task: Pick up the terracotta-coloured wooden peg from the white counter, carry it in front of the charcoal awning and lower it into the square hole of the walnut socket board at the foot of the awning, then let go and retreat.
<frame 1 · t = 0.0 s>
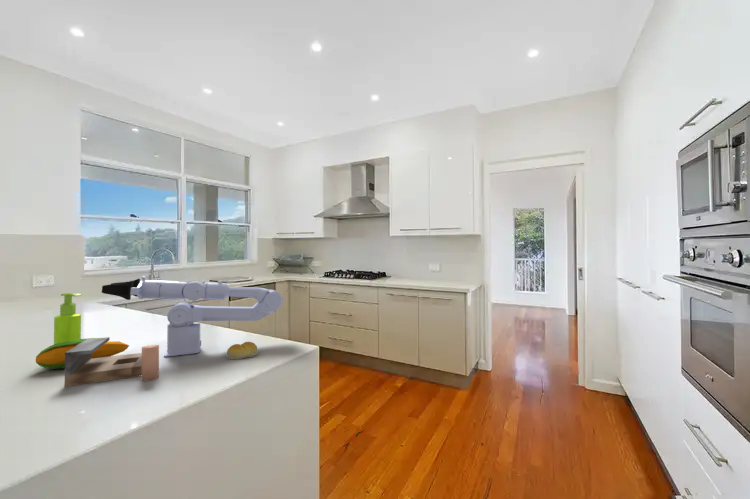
hand: (106, 287, 95), 22 cm above the counter, tool horizontal, fingers open, 7 cm apart
soap dispenser: (68, 359, 97), on the counter
bread roll: (243, 356, 100), on the counter
peg: (150, 378, 81), on the counter
corn: (85, 364, 93), on the counter
socket station: (115, 371, 86), on the counter
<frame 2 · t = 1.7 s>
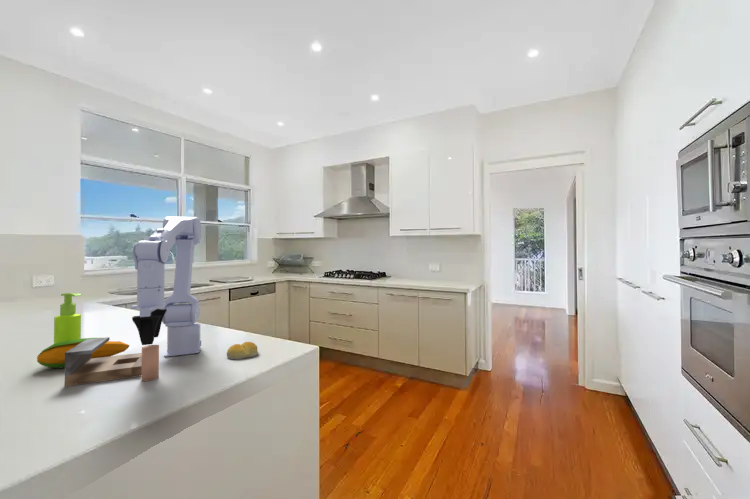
hand: (150, 340, 81), 9 cm above the counter, tool pointing down, fingers open, 7 cm apart
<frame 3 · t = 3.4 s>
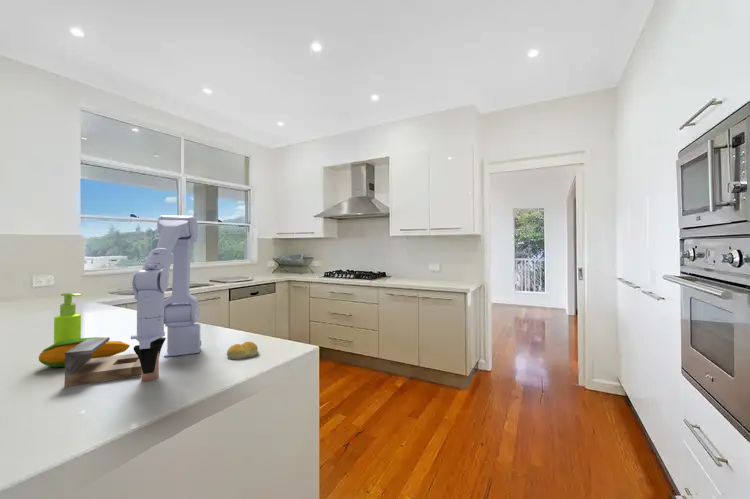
hand: (150, 370, 81), 2 cm above the counter, tool pointing down, fingers closed on peg, 4 cm apart
peg: (150, 378, 81), on the counter, touching gripper
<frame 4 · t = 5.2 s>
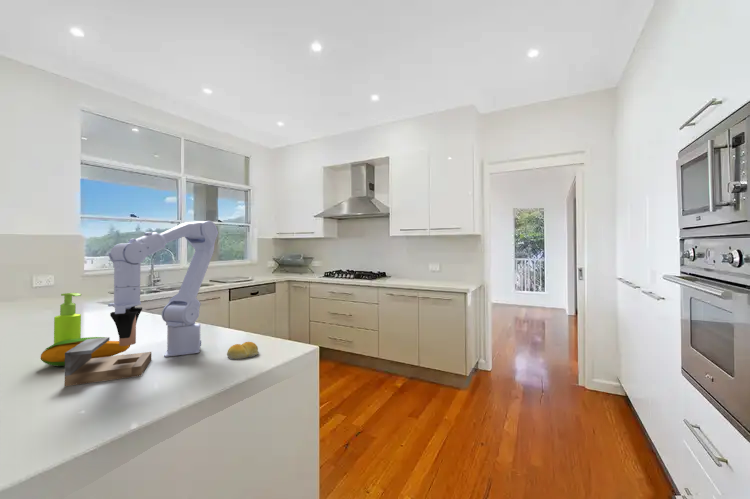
hand: (126, 336, 87), 9 cm above the counter, tool pointing down, fingers closed on peg, 4 cm apart
peg: (127, 344, 87), point 7 cm above the counter, touching gripper
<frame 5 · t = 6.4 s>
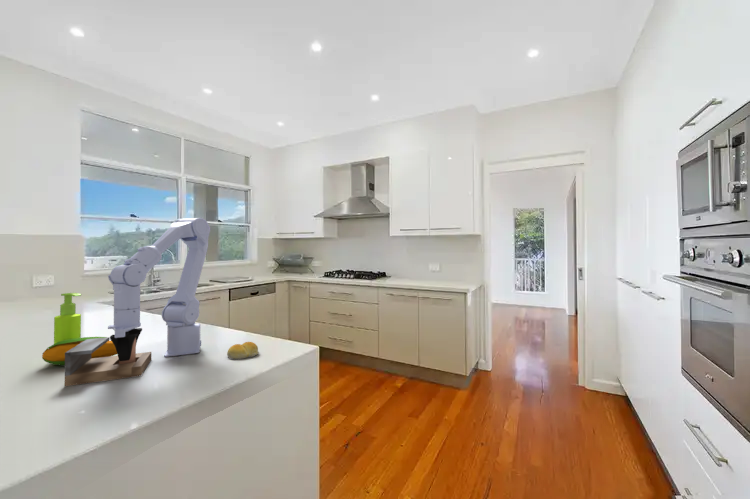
hand: (126, 358, 87), 3 cm above the counter, tool pointing down, fingers closed on peg, 4 cm apart
peg: (127, 366, 87), point 1 cm above the counter, touching gripper
when the fingers open (3 cm above the counter, at t = 7.0 s): peg drops 1 cm, resting in socket station.
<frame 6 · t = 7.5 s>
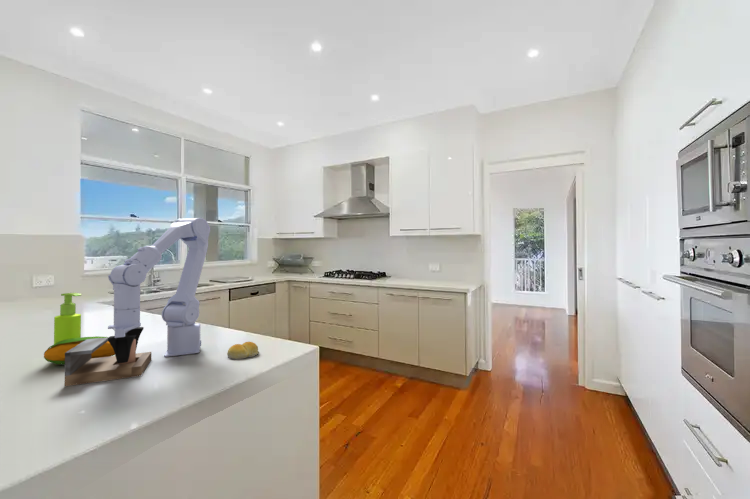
hand: (126, 358, 87), 3 cm above the counter, tool pointing down, fingers open, 7 cm apart
peg: (127, 370, 87), resting in socket station
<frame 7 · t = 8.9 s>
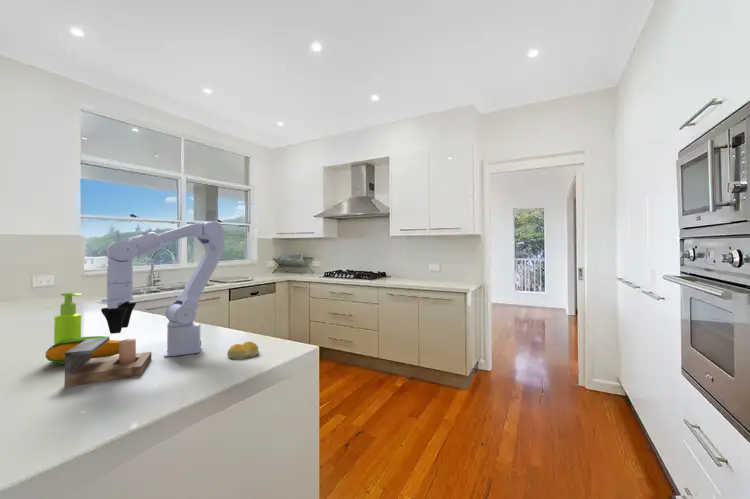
hand: (119, 330, 91), 10 cm above the counter, tool pointing down, fingers open, 7 cm apart
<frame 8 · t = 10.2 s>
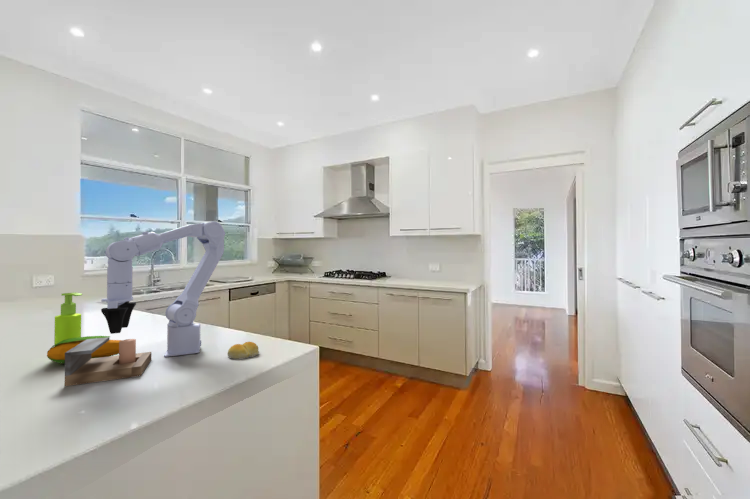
hand: (119, 330, 91), 10 cm above the counter, tool pointing down, fingers open, 7 cm apart
at the end: peg 0.2 cm from the target spot on the socket station, point 0.0 cm above the socket station's base; peg tilted 0°; the gripper is holding nothing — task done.
